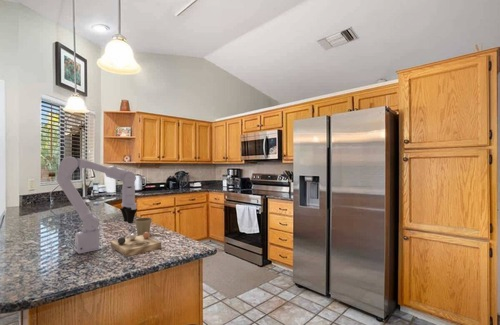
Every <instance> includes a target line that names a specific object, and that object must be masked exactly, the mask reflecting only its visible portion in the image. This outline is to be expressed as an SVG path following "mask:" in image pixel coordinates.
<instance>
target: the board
mask: <svg viewBox="0 0 500 325" xmlns="http://www.w3.org/2000/svg"><path fill="white" fill-rule="evenodd" d="M124 238H125V237H124ZM110 248H112V249H114V250H116V251H117V252H119V254H121V255H123V256H124V257H130V256H133V255H137V254H140V253H141V254H142V253H146V252H149V251H154V250H159V249H162V242H161V241H159V240H156V239H155V238H152V237H151V236H149V238H147V239H145V238H144V237H143V235H139V236H138V235H136V238H135V239H134V240H130V239H129V237H126V238H125V243H124V244H119V243H118V239H115V240H110Z"/></svg>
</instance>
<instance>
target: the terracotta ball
mask: <svg viewBox="0 0 500 325" xmlns="http://www.w3.org/2000/svg"><path fill="white" fill-rule="evenodd" d="M150 235H151V234H150V233H149V232H145V233H144V234H143V237H144V238H145V239H147V238H149V237H151V236H150Z"/></svg>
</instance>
